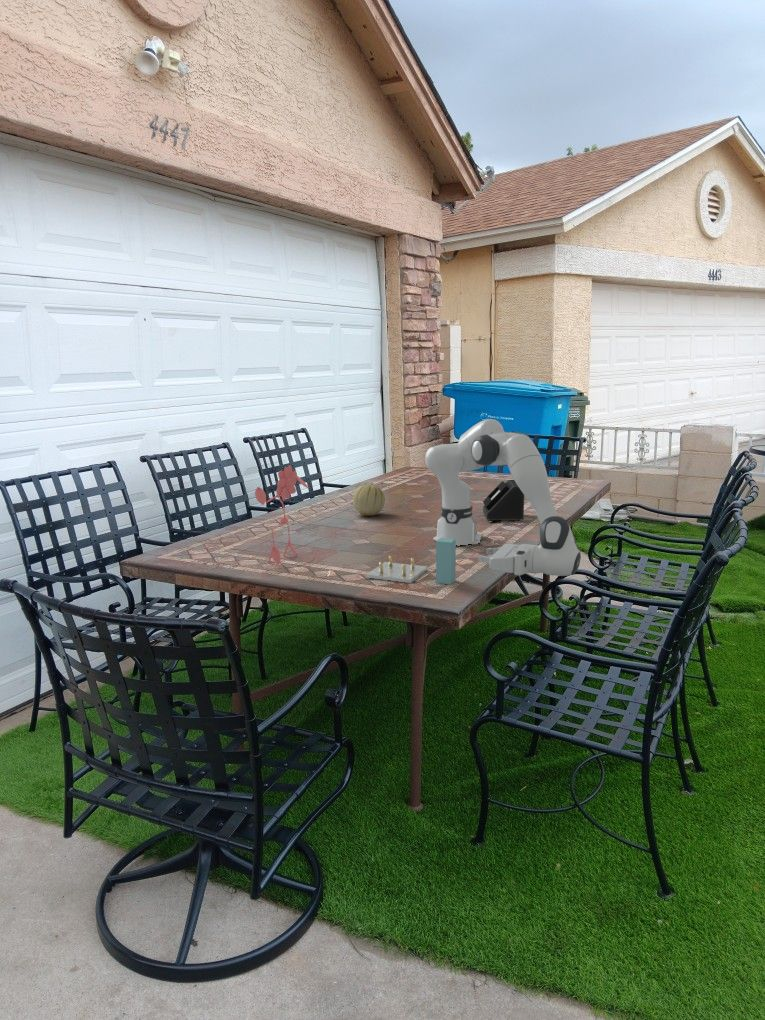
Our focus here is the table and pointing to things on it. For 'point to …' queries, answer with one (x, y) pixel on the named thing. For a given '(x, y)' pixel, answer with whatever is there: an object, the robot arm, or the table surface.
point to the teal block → (445, 560)
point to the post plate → (397, 571)
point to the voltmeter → (505, 503)
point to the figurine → (286, 489)
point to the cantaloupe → (368, 499)
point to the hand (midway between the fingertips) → (482, 554)
